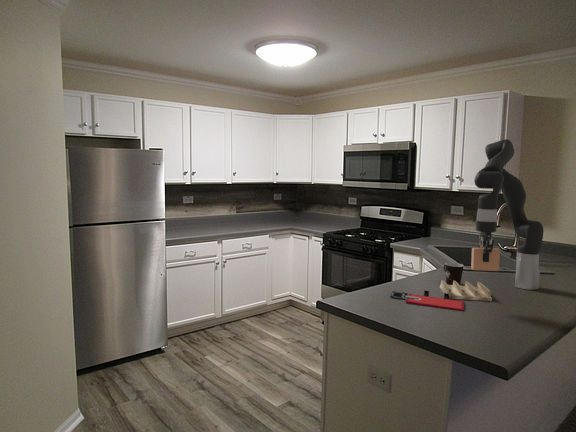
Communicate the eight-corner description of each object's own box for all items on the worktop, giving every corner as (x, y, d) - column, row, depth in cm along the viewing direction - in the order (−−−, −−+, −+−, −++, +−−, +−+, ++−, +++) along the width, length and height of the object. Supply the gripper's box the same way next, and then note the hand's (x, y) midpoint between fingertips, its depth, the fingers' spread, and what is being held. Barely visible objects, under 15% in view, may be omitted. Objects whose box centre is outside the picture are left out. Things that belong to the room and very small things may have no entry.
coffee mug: (464, 287, 192) (465, 267, 191) (445, 285, 194) (446, 266, 193) (459, 281, 204) (460, 262, 203) (441, 280, 205) (442, 261, 204)
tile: (496, 269, 165) (497, 248, 164) (498, 270, 162) (499, 249, 161) (471, 268, 167) (471, 247, 166) (473, 270, 164) (474, 248, 163)
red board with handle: (393, 292, 183) (387, 301, 170) (393, 286, 183) (388, 295, 169) (463, 301, 171) (463, 313, 157) (464, 295, 171) (464, 306, 157)
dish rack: (479, 289, 188) (479, 281, 188) (491, 301, 171) (492, 292, 170) (439, 287, 191) (440, 279, 191) (448, 298, 174) (448, 289, 173)
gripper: (502, 222, 155) (500, 265, 156) (490, 218, 168) (488, 257, 170) (482, 221, 156) (479, 264, 158) (472, 217, 170) (470, 257, 171)
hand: (484, 260), depth 164 cm, fingers closed on tile, 3 cm apart
